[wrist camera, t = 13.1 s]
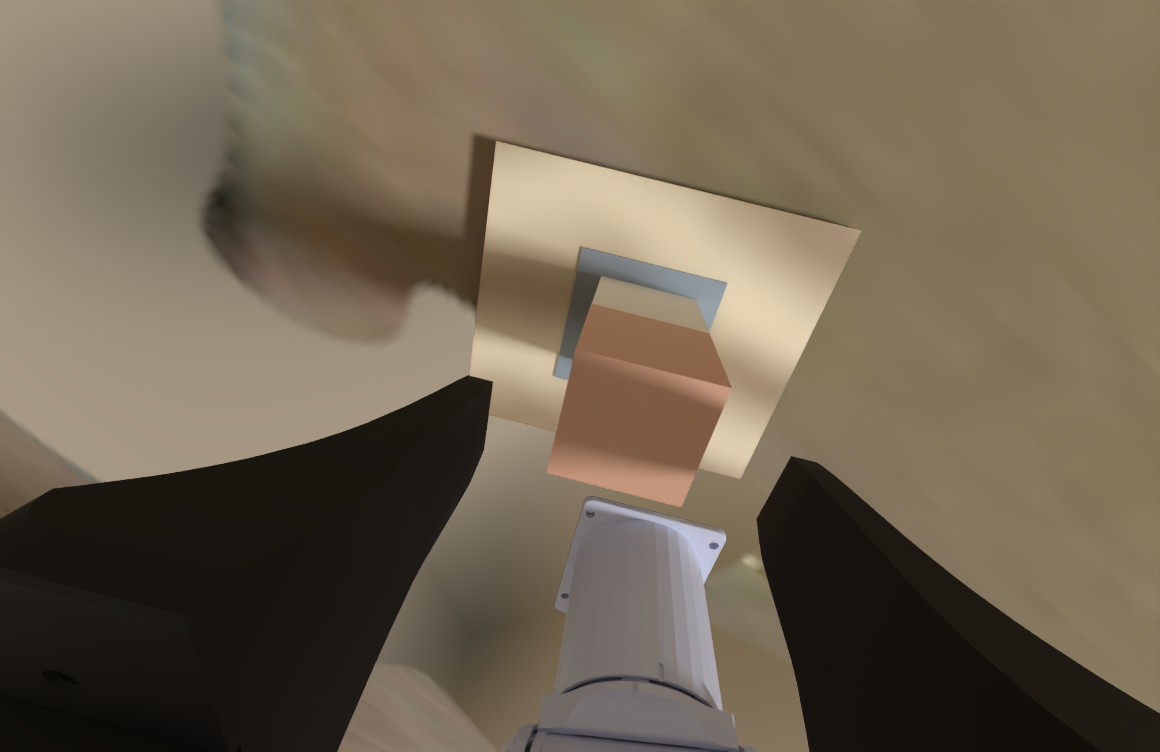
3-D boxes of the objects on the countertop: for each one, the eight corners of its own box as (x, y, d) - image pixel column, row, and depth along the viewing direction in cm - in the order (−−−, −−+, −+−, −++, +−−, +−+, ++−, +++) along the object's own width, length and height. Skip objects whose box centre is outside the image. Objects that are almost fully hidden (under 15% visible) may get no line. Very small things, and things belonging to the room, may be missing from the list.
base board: (736, 466, 23) (740, 480, 22) (472, 399, 23) (464, 409, 22) (850, 227, 17) (863, 230, 16) (503, 142, 17) (495, 140, 16)
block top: (672, 431, 16) (681, 507, 13) (567, 405, 16) (546, 472, 13) (709, 332, 15) (731, 388, 11) (591, 303, 15) (575, 348, 11)
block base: (666, 383, 20) (672, 431, 16) (580, 362, 20) (567, 405, 16) (695, 299, 18) (709, 332, 14) (601, 276, 18) (591, 303, 15)
